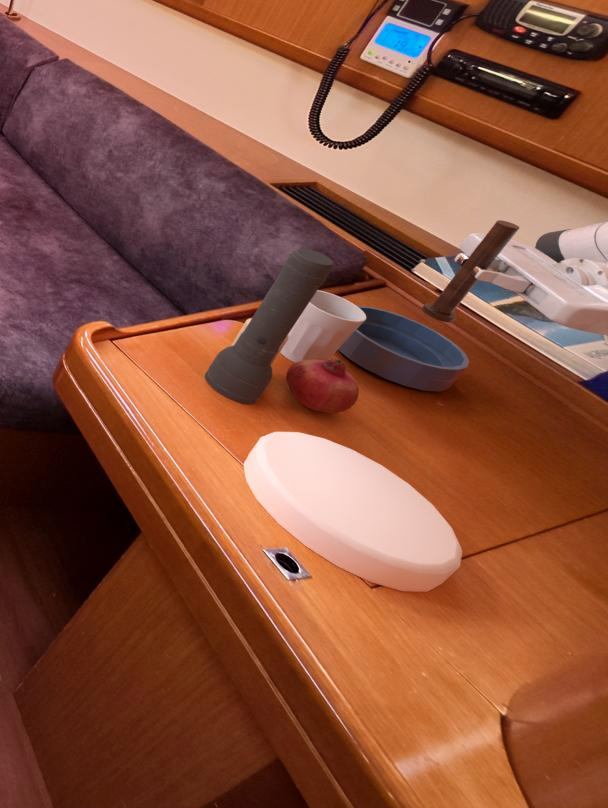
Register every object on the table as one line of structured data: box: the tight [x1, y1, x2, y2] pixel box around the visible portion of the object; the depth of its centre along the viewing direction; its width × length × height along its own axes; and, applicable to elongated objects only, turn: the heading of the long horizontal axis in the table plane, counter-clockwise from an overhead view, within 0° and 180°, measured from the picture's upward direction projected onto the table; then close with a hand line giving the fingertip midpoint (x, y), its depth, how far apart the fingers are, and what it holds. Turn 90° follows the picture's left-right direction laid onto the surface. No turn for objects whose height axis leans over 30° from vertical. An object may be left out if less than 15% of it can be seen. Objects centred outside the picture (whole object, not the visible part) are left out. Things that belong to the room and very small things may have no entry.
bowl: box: [337, 305, 470, 392], centre depth 111 cm, size 15×15×6 cm
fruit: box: [285, 358, 360, 414], centre depth 101 cm, size 8×8×10 cm
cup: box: [279, 289, 366, 364], centre depth 110 cm, size 8×8×12 cm
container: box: [242, 431, 463, 593], centre depth 85 cm, size 20×20×5 cm
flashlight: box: [204, 247, 334, 405], centre depth 99 cm, size 7×28×7 cm
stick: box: [421, 219, 520, 324], centre depth 99 cm, size 4×4×18 cm
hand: (467, 266), depth 99 cm, fingers closed on stick, 2 cm apart
